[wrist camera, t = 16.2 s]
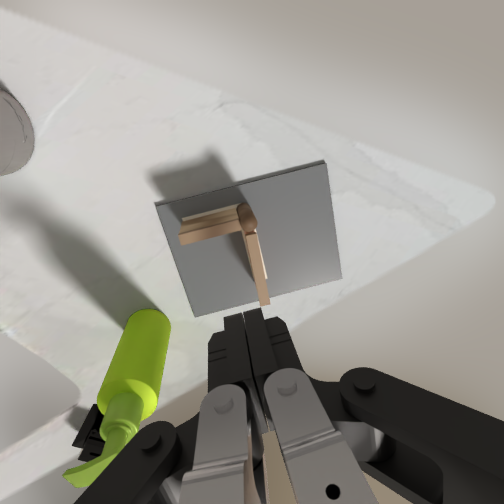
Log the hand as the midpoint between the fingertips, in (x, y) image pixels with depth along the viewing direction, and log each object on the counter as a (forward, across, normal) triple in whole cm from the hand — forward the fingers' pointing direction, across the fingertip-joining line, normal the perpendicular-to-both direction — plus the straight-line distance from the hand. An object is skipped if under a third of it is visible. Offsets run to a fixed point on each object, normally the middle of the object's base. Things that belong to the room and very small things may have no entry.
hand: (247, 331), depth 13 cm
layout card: (+29, -2, +8) cm, 30 cm away
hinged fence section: (+28, -2, +9) cm, 30 cm away
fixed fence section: (+29, +1, +3) cm, 29 cm away
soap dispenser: (+29, +15, +16) cm, 37 cm away
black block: (+30, +28, +31) cm, 51 cm away
